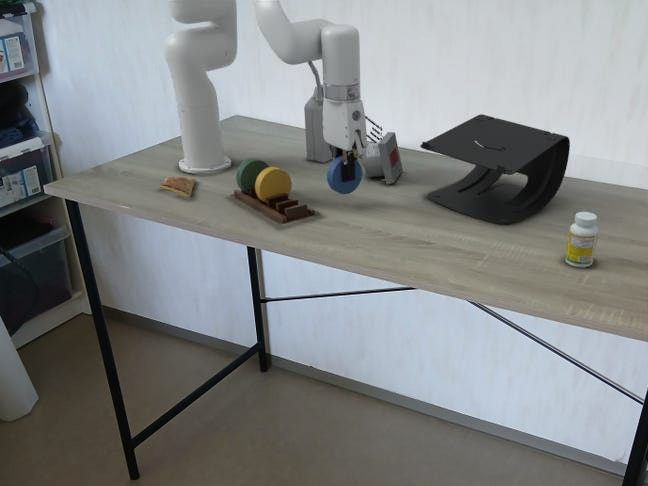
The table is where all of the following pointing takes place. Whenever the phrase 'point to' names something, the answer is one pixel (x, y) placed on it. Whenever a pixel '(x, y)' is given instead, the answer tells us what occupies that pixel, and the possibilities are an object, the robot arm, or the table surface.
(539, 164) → the laptop stand
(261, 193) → the mustard disc
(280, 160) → the table surface
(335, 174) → the blue disc
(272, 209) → the disc rack
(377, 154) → the voltmeter
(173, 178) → the shard
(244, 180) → the green disc
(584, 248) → the supplement bottle
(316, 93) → the gas can
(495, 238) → the table surface
